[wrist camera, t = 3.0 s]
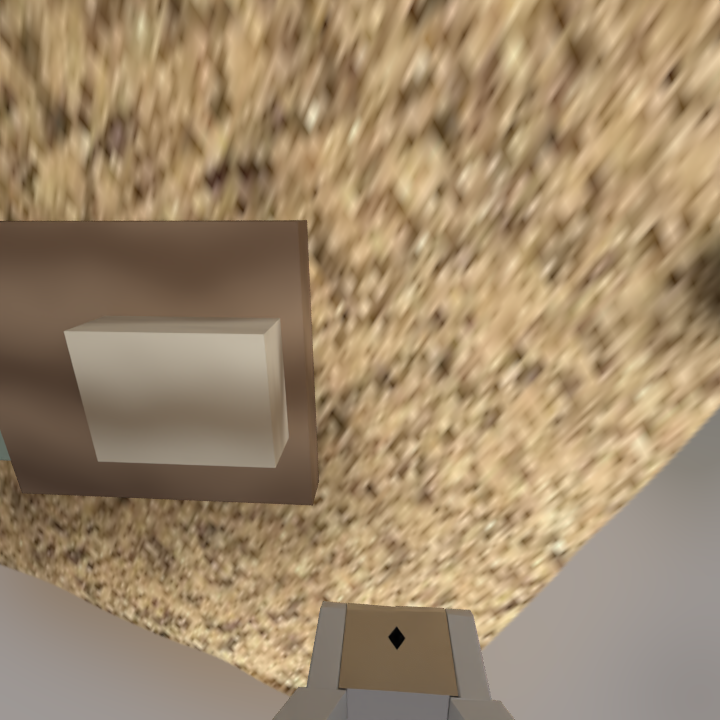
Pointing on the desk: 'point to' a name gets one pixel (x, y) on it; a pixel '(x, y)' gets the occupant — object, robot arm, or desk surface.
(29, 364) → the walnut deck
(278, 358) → the ash tile
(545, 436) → the desk surface
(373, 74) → the desk surface
